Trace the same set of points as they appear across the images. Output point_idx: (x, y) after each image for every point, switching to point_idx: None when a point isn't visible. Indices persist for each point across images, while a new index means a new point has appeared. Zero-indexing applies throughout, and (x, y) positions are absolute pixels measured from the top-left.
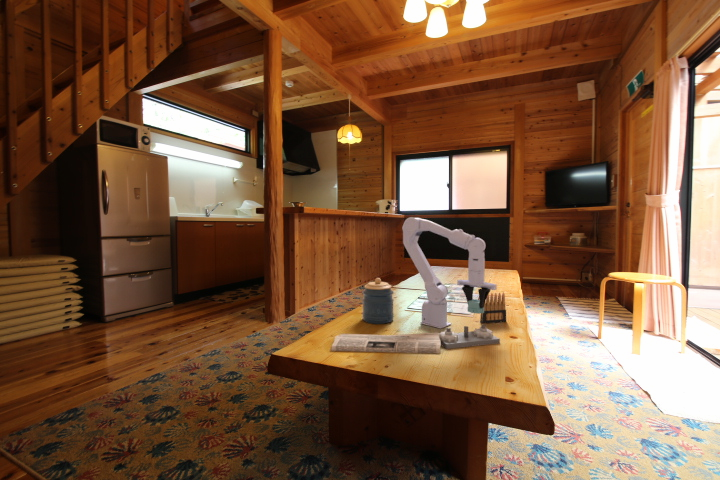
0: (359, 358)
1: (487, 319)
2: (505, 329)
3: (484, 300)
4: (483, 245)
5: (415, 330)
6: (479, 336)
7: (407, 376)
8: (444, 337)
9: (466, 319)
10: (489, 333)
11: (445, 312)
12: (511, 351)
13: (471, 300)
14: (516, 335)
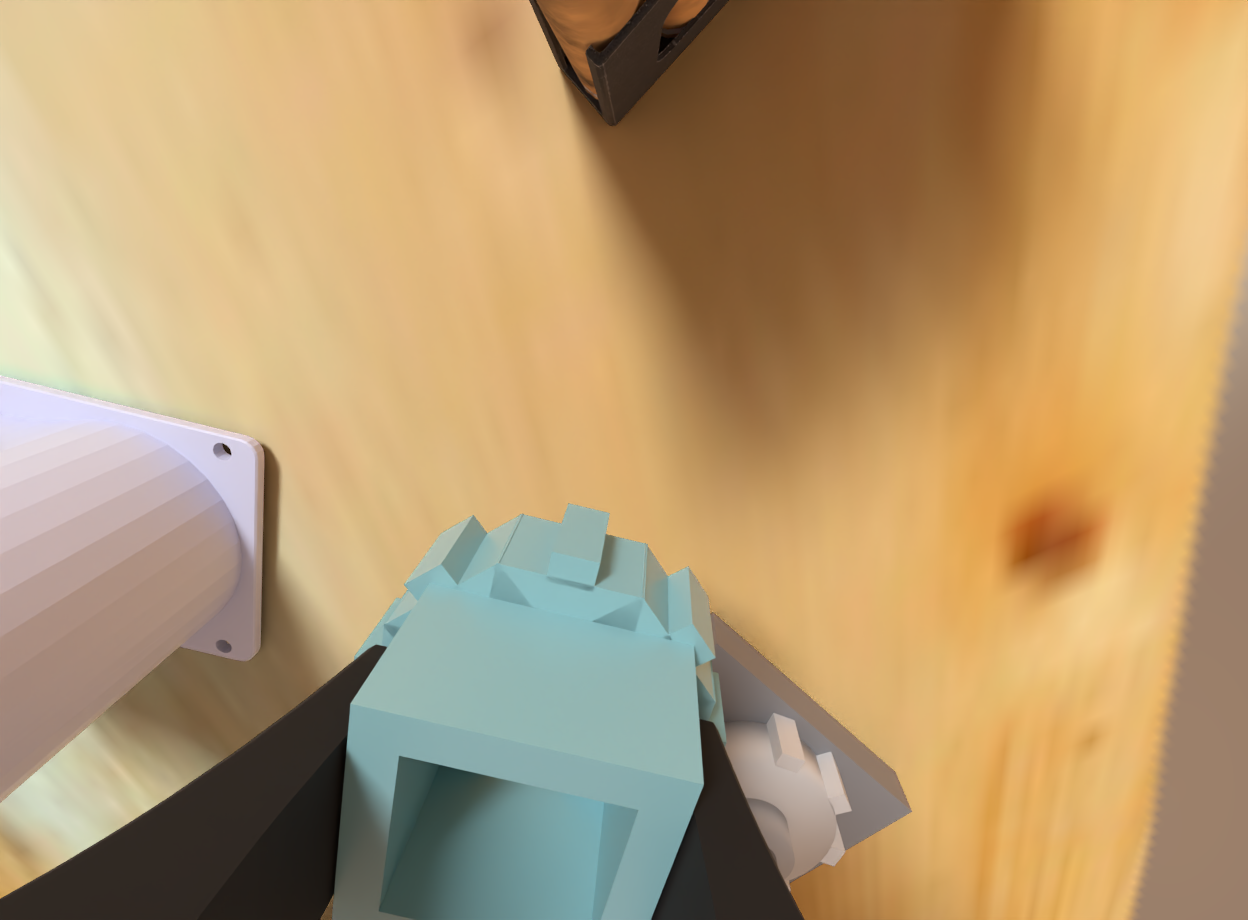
0: None
1: (679, 19)
2: (975, 264)
3: (753, 899)
4: None
5: (110, 780)
6: None
7: None
8: None
9: (307, 13)
10: (818, 856)
11: (102, 676)
12: (990, 886)
13: (377, 868)
14: (1102, 462)
